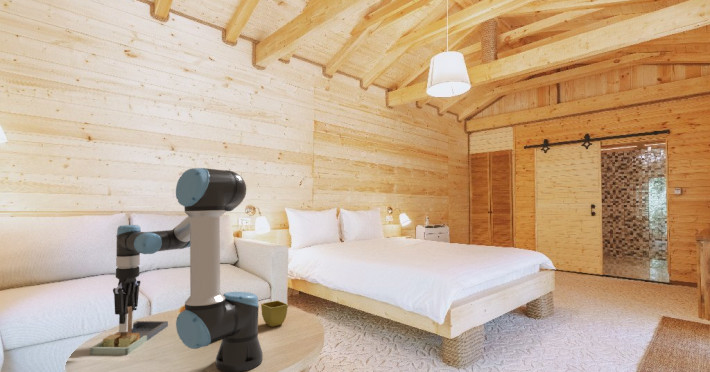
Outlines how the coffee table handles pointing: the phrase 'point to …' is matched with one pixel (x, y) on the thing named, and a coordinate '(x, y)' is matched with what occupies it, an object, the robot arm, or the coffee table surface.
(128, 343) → the light brown cube
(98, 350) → the tray
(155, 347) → the coffee table surface
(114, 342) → the tan cube
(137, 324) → the dark grey shallow tray
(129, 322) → the bent wooden stick
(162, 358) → the coffee table surface
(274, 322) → the flower pot
